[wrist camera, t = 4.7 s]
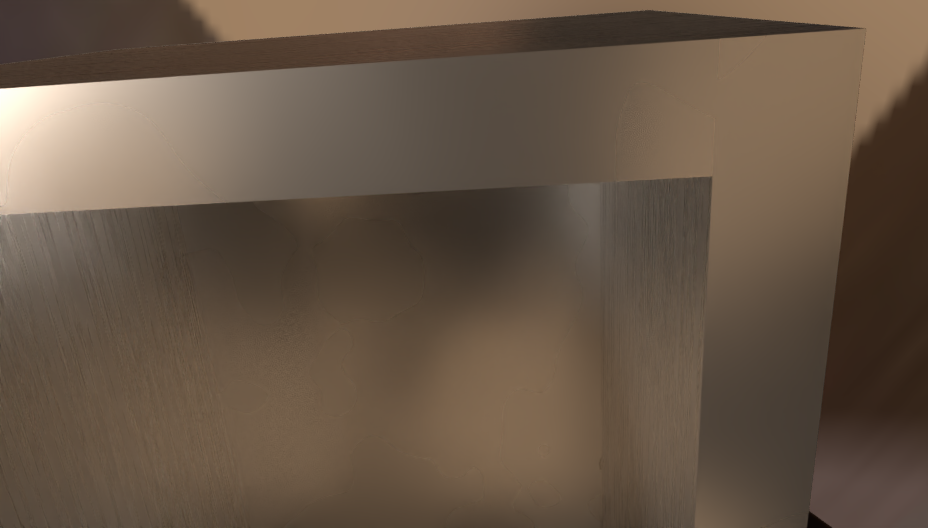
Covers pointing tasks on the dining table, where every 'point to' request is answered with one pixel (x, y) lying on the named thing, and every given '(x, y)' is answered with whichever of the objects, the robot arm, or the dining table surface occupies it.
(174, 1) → the dining table surface
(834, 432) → the dining table surface
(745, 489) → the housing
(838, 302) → the dining table surface
